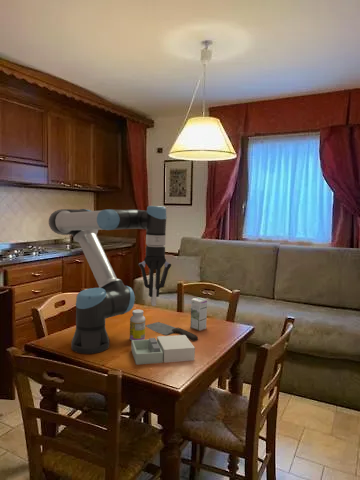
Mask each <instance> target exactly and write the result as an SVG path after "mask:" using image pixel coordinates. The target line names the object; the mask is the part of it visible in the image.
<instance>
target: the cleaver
mask: <svg viewBox="0 0 360 480" xmlns="http://www.w3.org/2000/svg"><path fill="white" fill-rule="evenodd" d="M145 328H147V329H150V330H152V331H153V332H155V333H158V334H161V335H163V336H171V335H172V334H178V335H186V337H187V338H188V339H189V341H190V340H191V342H195V341H198V339H199V337H198V335H197V334H194V333H192V332H190V331H188V330H186V329H184V328H181V327H174V326H172V325H170V324H167V323H163V322H160V321H157V322H152V323H149V324H145Z"/></svg>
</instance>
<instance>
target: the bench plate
mask: <svg viewBox="0 0 360 480" xmlns="http://www.w3.org/2000/svg"><path fill="white" fill-rule="evenodd" d="M156 340H157V342H158V344H159V346H160V348H161V350H162V352H163V363H176V362H190V361H195V356H196V354H195V353H196V350H195V349H196V348H195V346H194V345H193V343H192V341H190V339H189V338H187V337H186V335H181V334H178V335H177V334H176V335H175V334H174V335H159V336H156Z"/></svg>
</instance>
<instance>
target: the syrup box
mask: <svg viewBox="0 0 360 480" xmlns="http://www.w3.org/2000/svg"><path fill="white" fill-rule="evenodd" d="M190 301H191V302H190V304H191V305H190V329H192V330H196V331H198V332H199V331H204V330H206V329H207V318H208V316H207V314H208V312H207V311H208V299H206V298H204V297H203V298H202V297H199V296H198V297H194V298H191V300H190Z"/></svg>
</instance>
